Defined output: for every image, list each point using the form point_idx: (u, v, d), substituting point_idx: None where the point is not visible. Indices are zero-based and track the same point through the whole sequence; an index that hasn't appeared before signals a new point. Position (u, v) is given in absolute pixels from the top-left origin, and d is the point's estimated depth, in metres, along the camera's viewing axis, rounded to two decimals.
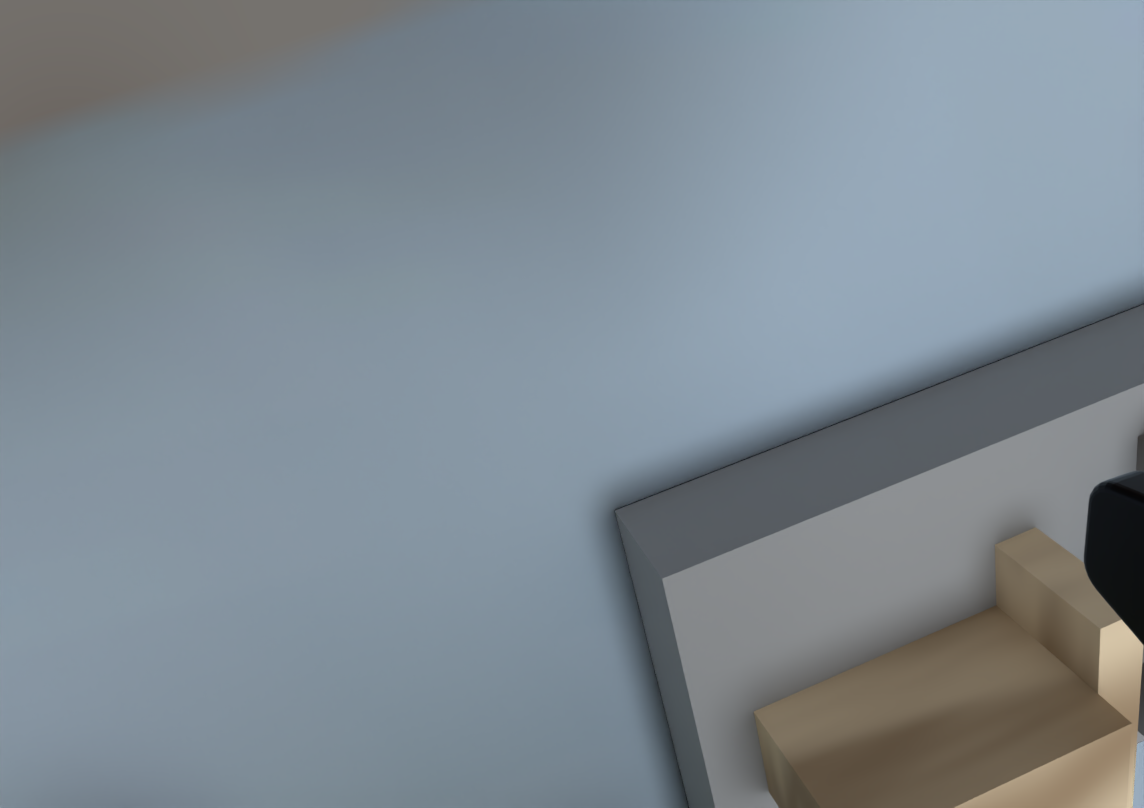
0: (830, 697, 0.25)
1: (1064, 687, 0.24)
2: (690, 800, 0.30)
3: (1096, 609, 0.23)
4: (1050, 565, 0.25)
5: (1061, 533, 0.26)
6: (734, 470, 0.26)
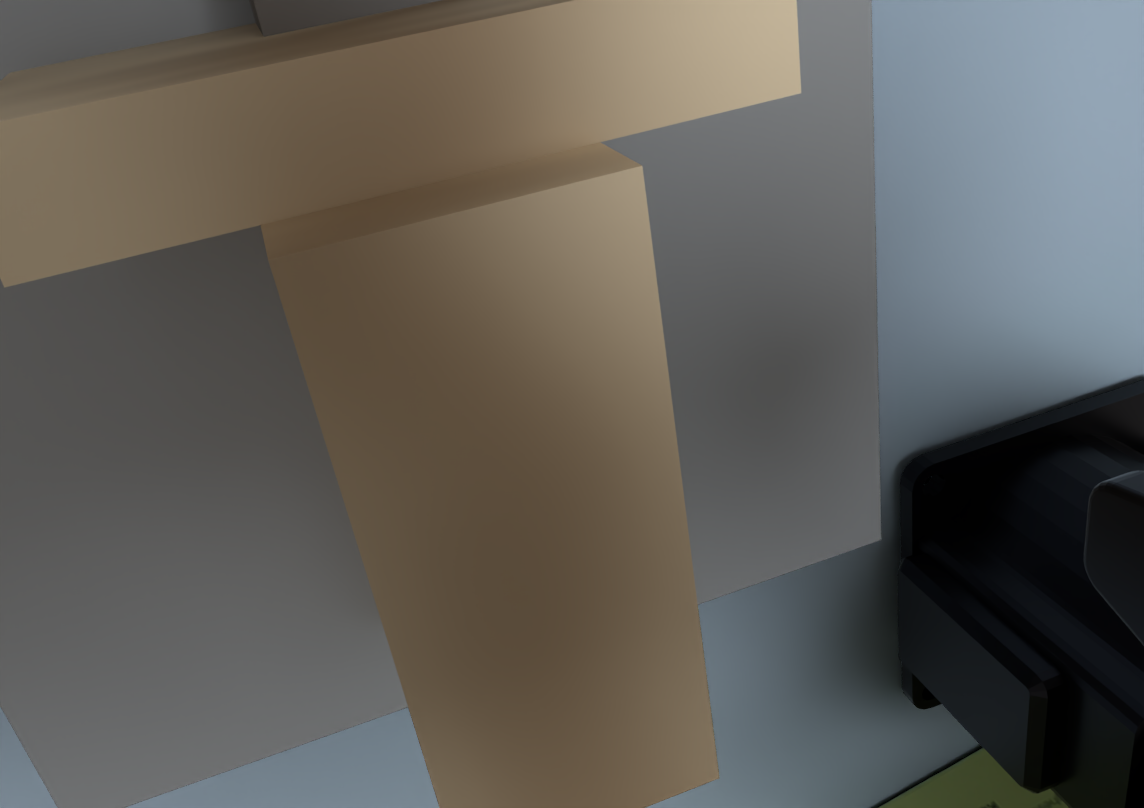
0: None
1: None
2: None
3: None
4: None
5: None
6: None
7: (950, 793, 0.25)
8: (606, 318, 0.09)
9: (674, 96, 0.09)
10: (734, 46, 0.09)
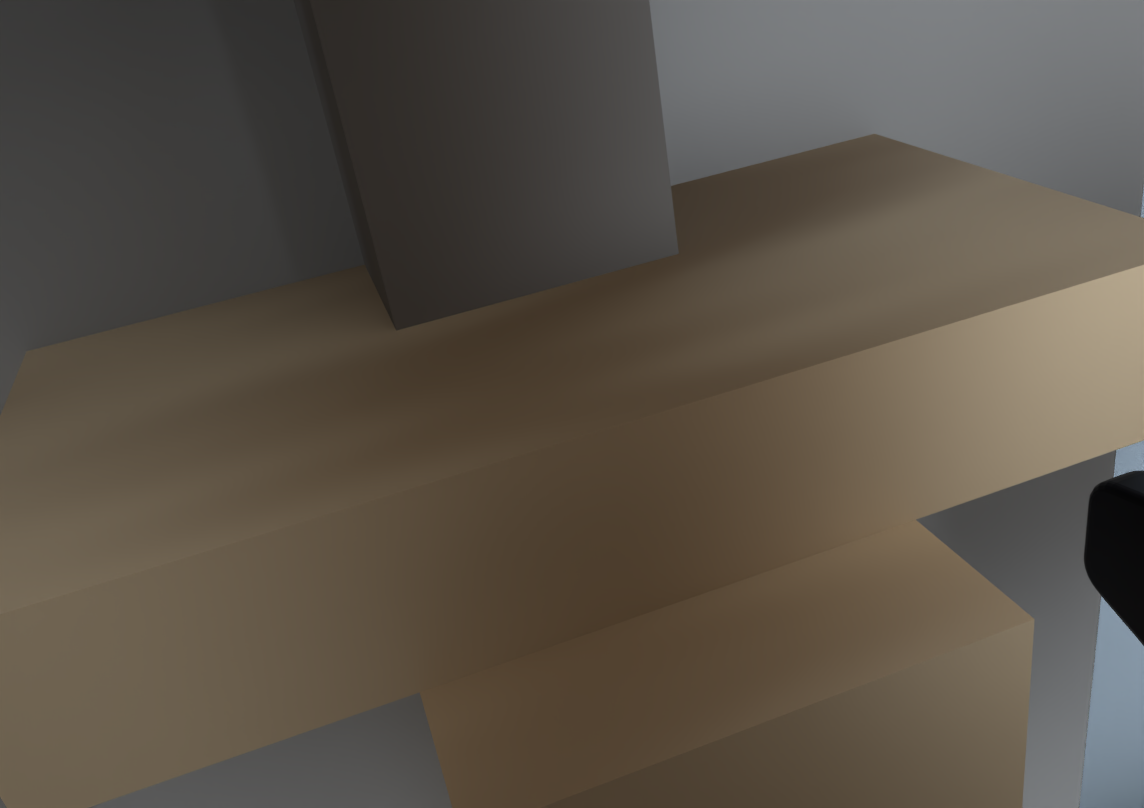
0: None
1: None
2: None
3: None
4: None
5: None
6: None
7: None
8: None
9: (1025, 448, 0.06)
10: (1116, 373, 0.06)
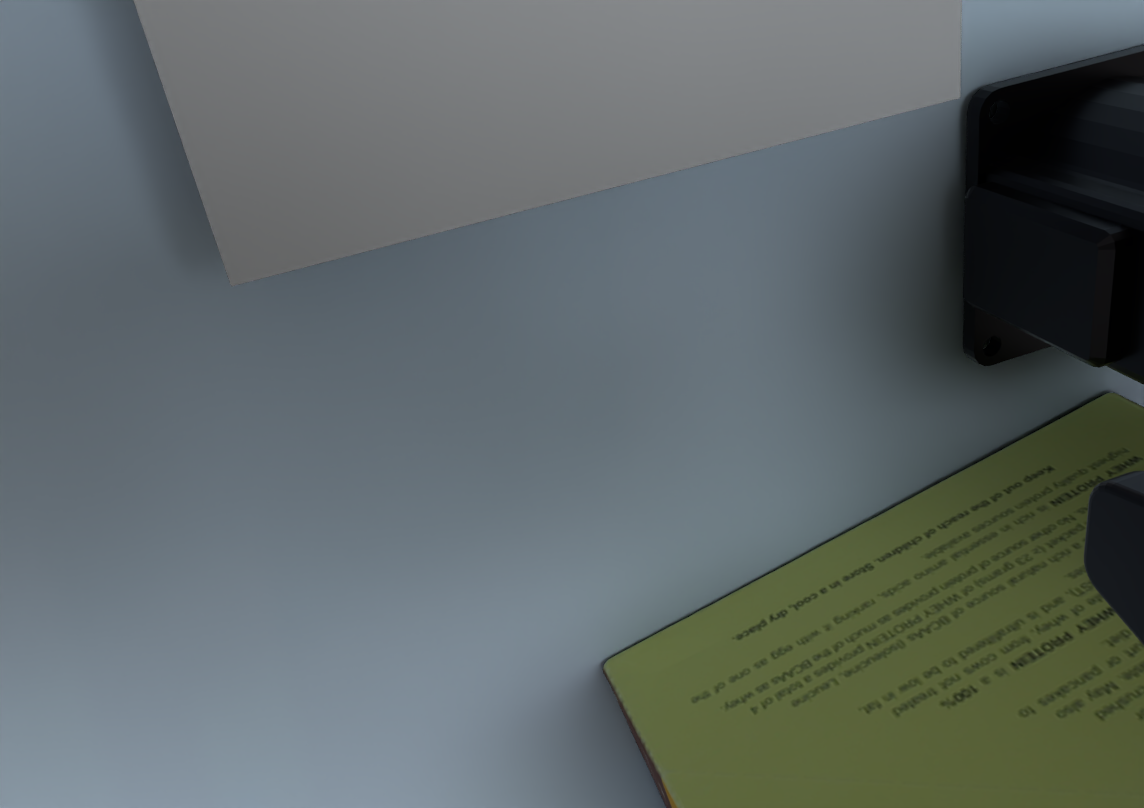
0: None
1: None
2: None
3: None
4: None
5: None
6: None
7: (1007, 465, 0.26)
8: None
9: None
10: None
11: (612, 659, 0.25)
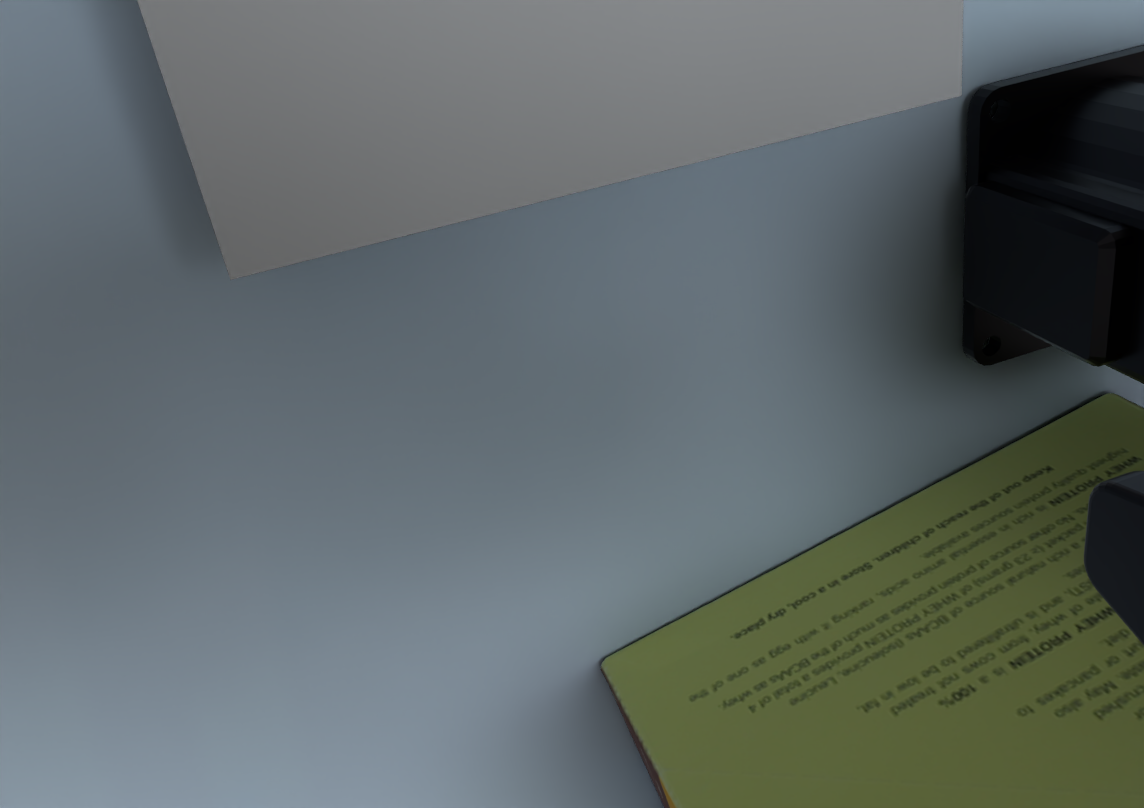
0: None
1: None
2: None
3: None
4: None
5: None
6: None
7: (1006, 465, 0.26)
8: None
9: None
10: None
11: (610, 658, 0.25)
